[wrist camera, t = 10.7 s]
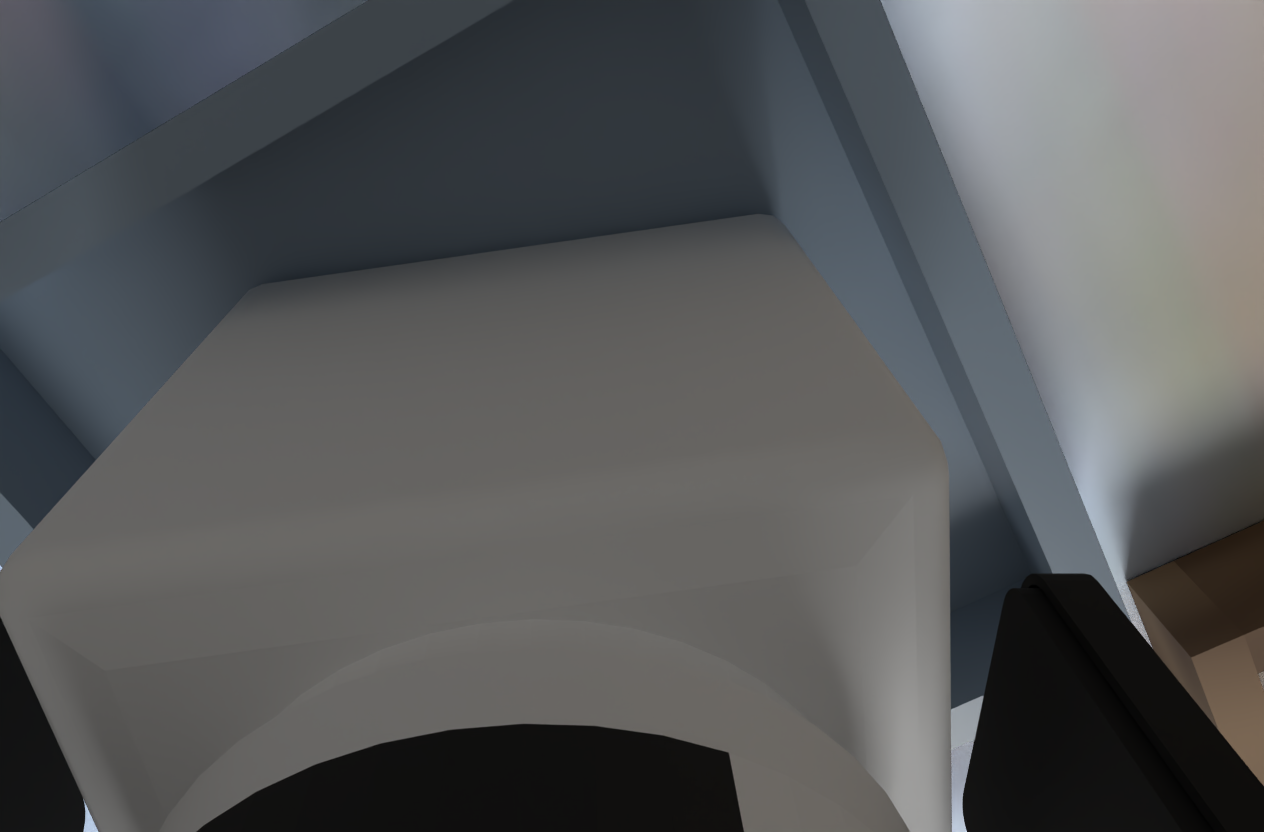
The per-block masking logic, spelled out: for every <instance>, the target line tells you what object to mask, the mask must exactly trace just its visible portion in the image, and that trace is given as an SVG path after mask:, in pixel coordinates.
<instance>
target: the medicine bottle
mask: <svg viewBox="0 0 1264 832" xmlns="http://www.w3.org/2000/svg"><path fill="white" fill-rule="evenodd" d="M0 617H1V619H2V621H3V624H4V626H5V628H6V630H7V632H8V634H9V637H10V639H11V641H12V643H13V645H14V648H15V650H16V652H17V654H18V656H19V659H20V661H21V663H22V665H23V667H24V670H25V672H26V674H27V676H28V678H29V680H30V683H31V685H32V687H33V689H34V691H35V694H36V696H37V698H38V700H39V702H40V705H41V707H42V709H43V711H44V713H45V715H46V718H47V720H48V722H49V724H50V726H51V729H52V731H53V733H54V735H55V737H56V740H57V742H58V744H59V746H60V748H61V751H62V753H63V755H64V757H65V759H66V761H67V764H68V766H69V768H70V770H71V772H72V775H73V777H74V779H75V781H76V783H77V786H78V788H79V790H80V792H81V794H82V797H83V799H84V801H85V803H86V805H87V807H88V810H89V812H90V814H91V816H92V818H93V821H94V823H95V825H96V827H97V829H98V832H952V803H951V663H950V523H949V469H948V462H947V459H946V456H945V453H944V449H943V446H942V443H941V441H940V439H939V438H938V437H937V435H936V434H935V432H934V431H933V430H932V428H931V427H930V426H929V424H928V423H927V421H926V420H925V419H924V417H923V416H922V414H921V413H920V412H919V410H918V409H917V408H916V406H915V405H914V403H913V402H912V401H911V399H910V398H909V396H908V395H907V394H906V392H905V391H904V390H903V388H902V387H901V385H900V384H899V383H898V381H897V380H896V378H895V377H894V376H893V374H892V373H891V372H890V370H889V369H888V367H887V366H886V365H885V363H884V362H883V360H882V359H881V358H880V356H879V355H878V354H877V352H876V351H875V349H874V348H873V347H872V345H871V344H870V342H869V341H868V340H867V338H866V337H865V336H864V334H863V333H862V331H861V330H860V329H859V327H858V326H857V324H856V323H855V322H854V320H853V319H852V318H851V316H850V315H849V313H848V312H847V311H846V309H845V308H844V306H843V305H842V304H841V302H840V301H839V300H838V298H837V297H836V295H835V294H834V293H833V291H832V290H831V288H830V287H829V286H828V284H827V283H826V282H825V280H824V279H823V277H822V276H821V275H820V273H819V272H818V270H817V269H816V268H815V266H814V265H813V263H812V262H811V261H810V259H809V258H808V257H807V255H806V254H805V252H804V251H803V250H802V248H801V247H800V245H799V244H798V243H797V241H796V240H795V239H794V237H793V236H792V234H791V233H790V232H789V230H788V229H787V227H786V226H785V225H784V224H783V223H782V222H781V221H779V220H778V219H777V218H775V217H774V216H773V215H764V214H753V215H746V216H739V217H732V218H725V219H718V220H710V221H703V222H696V223H689V224H682V225H675V226H668V227H661V228H654V229H647V230H640V231H633V232H626V233H619V234H612V235H605V236H598V237H591V238H584V239H576V240H569V241H562V242H555V243H548V244H541V245H534V246H527V247H520V248H513V249H506V250H499V251H492V252H485V253H478V254H471V255H464V256H457V257H450V258H442V259H435V260H428V261H421V262H414V263H407V264H400V265H393V266H386V267H379V268H372V269H365V270H358V271H351V272H344V273H337V274H330V275H323V276H316V277H308V278H301V279H294V280H287V281H280V282H273V283H266V284H261V285H259V286H257V287H254V288H252V289H250V290H248V292H247V293H246V294H245V295H244V296H243V297H242V298H241V299H240V300H239V302H238V303H237V304H236V305H235V306H234V307H233V308H232V309H231V310H230V312H229V313H228V314H227V315H226V316H225V317H224V318H223V319H222V320H221V322H220V323H219V324H218V325H217V326H216V327H215V328H214V329H213V330H212V332H211V333H210V334H209V335H208V336H207V337H206V338H205V339H204V341H203V342H202V343H201V344H200V345H199V346H198V347H197V348H196V349H195V351H194V352H193V353H192V354H191V355H190V356H189V357H188V358H187V359H186V361H185V362H184V363H183V364H182V365H181V366H180V367H179V368H178V369H177V371H176V372H175V373H174V374H173V375H172V376H171V377H170V378H169V379H168V381H167V382H166V383H165V384H164V385H163V386H162V387H161V388H160V389H159V391H158V392H157V393H156V394H155V395H154V396H153V397H152V398H151V399H150V401H149V402H148V403H147V404H146V405H145V406H144V407H143V408H142V409H141V411H140V412H139V413H138V414H137V415H136V416H135V417H134V418H133V419H132V421H131V422H130V423H129V424H128V425H127V426H126V427H125V428H124V430H123V431H122V432H121V433H120V434H119V435H118V436H117V437H116V438H115V440H114V441H113V442H112V443H111V444H110V445H109V446H108V447H107V448H106V450H105V451H104V452H103V453H102V454H101V455H100V456H99V457H98V458H97V460H96V461H95V462H94V463H93V464H92V465H91V466H90V467H89V468H88V470H87V471H86V472H85V473H84V474H83V475H82V476H81V477H80V478H79V480H78V481H77V482H76V483H75V484H74V485H73V486H72V487H71V488H70V490H69V491H68V492H67V493H66V494H65V495H64V496H63V497H62V498H61V500H60V501H59V502H58V503H57V504H56V505H55V506H54V507H53V508H52V510H51V511H50V512H49V513H48V514H47V515H46V516H45V517H44V518H43V520H42V521H41V522H40V523H39V524H38V525H37V526H36V527H35V529H34V530H33V531H32V532H31V533H30V534H29V535H28V536H27V537H26V539H25V540H24V541H23V542H22V543H21V544H20V545H19V546H18V547H17V549H16V550H15V551H14V552H13V553H12V554H11V555H10V557H9V559H8V560H7V562H6V563H5V565H4V567H3V568H2V570H1V571H0Z"/></svg>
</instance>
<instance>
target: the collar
mask: <svg viewBox="0 0 1264 832" xmlns="http://www.w3.org/2000/svg"><path fill="white" fill-rule="evenodd" d="M1127 584H1128V587H1129V589H1130V592H1131V594H1132V597H1133V599H1134V602H1135V604H1136V607H1137V609H1138V612H1139V614H1140V617H1141V619H1142V622H1143V624H1144V627H1145V629H1146V632H1147V634H1148V637H1149V639H1150V642H1151V644H1152V647H1153V649H1154V651H1155V652H1156V654H1157V655H1158V656H1159V657H1160V659H1161V660H1162V661H1163V662H1164V663H1165V665H1166V666H1167V667H1168V668H1169V670H1170V671H1171V672H1172V673H1173V675H1174V676H1175V677H1176V678H1177V680H1178V681H1179V682H1180V683H1181V684H1182V686H1183V687H1184V688H1185V689H1186V691H1187V692H1188V693H1189V694H1190V696H1191V697H1192V698H1193V699H1194V701H1195V702H1196V703H1197V704H1198V705H1199V707H1200V708H1201V709H1202V710H1203V712H1204V713H1205V714H1206V715H1207V717H1208V718H1209V719H1210V720H1211V722H1212V723H1213V724H1214V725H1215V726H1216V728H1217V729H1218V730H1219V731H1220V733H1221V734H1222V735H1223V736H1224V738H1225V739H1226V740H1227V741H1228V743H1229V744H1230V745H1231V746H1232V748H1233V749H1234V750H1235V751H1236V752H1237V754H1238V755H1239V756H1240V757H1241V759H1242V760H1243V761H1244V762H1245V764H1246V765H1247V766H1248V767H1249V769H1250V770H1251V771H1252V772H1253V773H1254V775H1255V776H1256V777H1257V778H1258V780H1259V781H1260V782H1261V783H1262V785H1263V786H1264V690H1263V687H1262V684H1261V682H1260V679H1259V676H1258V673H1260V672H1262V671H1264V521H1262V522H1260V523H1258V524H1255V525H1253V526H1251V527H1249V528H1246V529H1244V530H1242V531H1240V532H1237V533H1235V534H1233V535H1231V536H1228V537H1226V538H1224V539H1222V540H1219V541H1217V542H1215V543H1213V544H1210V545H1208V546H1206V547H1204V548H1201V549H1199V550H1197V551H1195V552H1193V553H1190V554H1188V555H1186V556H1184V557H1181V558H1179V559H1177V560H1175V561H1172V562H1170V563H1168V564H1166V565H1163V566H1161V567H1159V568H1157V569H1154V570H1152V571H1150V572H1148V573H1145V574H1143V575H1141V576H1139V577H1136V578H1134V579H1132V580H1130V581H1127Z"/></svg>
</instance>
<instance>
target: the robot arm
mask: <svg viewBox="0 0 1264 832" xmlns="http://www.w3.org/2000/svg"><path fill="white" fill-rule="evenodd" d="M963 816H964V822H965V826H966V830H967V832H1264V786H1263V785H1262V783H1261V782H1260V781H1259V780H1258V778H1257V777H1256V776H1255V775H1254V773H1253V772H1252V771H1251V770H1250V769H1249V767H1248V766H1247V765H1246V764H1245V762H1244V761H1243V760H1242V759H1241V757H1240V756H1239V755H1238V754H1237V752H1236V751H1235V750H1234V749H1233V748H1232V746H1231V745H1230V744H1229V743H1228V741H1227V740H1226V739H1225V738H1224V736H1223V735H1222V734H1221V733H1220V731H1219V730H1218V729H1217V728H1216V726H1215V725H1214V724H1213V723H1212V722H1211V720H1210V719H1209V718H1208V717H1207V715H1206V714H1205V713H1204V712H1203V710H1202V709H1201V708H1200V707H1199V705H1198V704H1197V703H1196V702H1195V701H1194V699H1193V698H1192V697H1191V696H1190V694H1189V693H1188V692H1187V691H1186V689H1185V688H1184V687H1183V686H1182V684H1181V683H1180V682H1179V681H1178V680H1177V678H1176V677H1175V676H1174V675H1173V673H1172V672H1171V671H1170V670H1169V668H1168V667H1167V666H1166V665H1165V663H1164V662H1163V661H1162V660H1161V659H1160V657H1159V656H1158V655H1157V654H1156V652H1155V651H1154V650H1153V649H1152V647H1151V646H1150V645H1149V644H1148V642H1147V641H1146V640H1145V639H1144V638H1143V636H1142V635H1141V634H1140V633H1139V631H1138V630H1137V629H1136V628H1135V626H1134V625H1133V624H1132V623H1131V621H1130V620H1129V619H1128V618H1127V616H1126V615H1125V614H1124V613H1123V612H1122V610H1121V609H1120V608H1119V607H1118V605H1117V604H1116V603H1115V602H1114V600H1113V599H1112V598H1111V597H1110V595H1109V594H1108V593H1107V592H1106V591H1105V589H1104V588H1103V587H1102V586H1101V584H1100V583H1099V582H1098V581H1097V580H1096V579H1095V578H1094V577H1093V576H1092V575H1089V574H1085V573H1032V574H1030V575H1028V576H1027V577H1026V578H1025V580H1024V581H1023V583H1022V586H1021V588H1012V589H1010V590H1009V591H1008V592H1007V594H1006V595H1005V598H1004V602H1003V606H1002V611H1001V616H1000V620H999V625H998V630H997V635H996V640H995V644H994V649H993V654H992V659H991V663H990V668H989V673H988V678H987V683H986V687H985V692H984V697H983V702H982V707H981V711H980V716H979V721H978V726H977V730H976V735H975V740H974V745H973V750H972V754H971V759H970V764H969V769H968V773H967V778H966V783H965V788H964V793H963ZM84 824H85V805H84V800H83V797H82V794H81V792H80V790H79V788H78V786H77V783H76V781H75V779H74V777H73V775H72V772H71V770H70V768H69V766H68V764H67V761H66V759H65V757H64V755H63V753H62V751H61V748H60V746H59V744H58V742H57V740H56V737H55V735H54V733H53V731H52V729H51V726H50V724H49V722H48V720H47V718H46V715H45V713H44V711H43V709H42V707H41V705H40V702H39V700H38V698H37V696H36V694H35V691H34V689H33V687H32V685H31V683H30V680H29V678H28V676H27V674H26V672H25V670H24V667H23V665H22V663H21V661H20V659H19V656H18V654H17V652H16V650H15V648H14V645H13V643H12V641H11V639H10V637H9V634H8V632H7V630H6V628H5V626H4V624H3V621H2V619H1V617H0V832H83V830H84Z"/></svg>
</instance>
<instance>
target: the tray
mask: <svg viewBox="0 0 1264 832" xmlns="http://www.w3.org/2000/svg"><path fill="white" fill-rule="evenodd" d="M753 214H764V215H773V216H774V217H775V218H777V219H778V220H779V221H781V222H782V223H783V224H784V225H785V226H786V227H787V229H788V230H789V232H790V233H791V234H792V236H793V237H794V239H795V240H796V241H797V243H798V244H799V245H800V247H801V248H802V250H803V251H804V252H805V254H806V255H807V257H808V258H809V259H810V261H811V262H812V263H813V265H814V266H815V268H816V269H817V270H818V272H819V273H820V275H821V276H822V277H823V279H824V280H825V282H826V283H827V284H828V286H829V287H830V288H831V290H832V291H833V293H834V294H835V295H836V297H837V298H838V300H839V301H840V302H841V304H842V305H843V306H844V308H845V309H846V311H847V312H848V313H849V315H850V316H851V318H852V319H853V320H854V322H855V323H856V324H857V326H858V327H859V329H860V330H861V331H862V333H863V334H864V336H865V337H866V338H867V340H868V341H869V342H870V344H871V345H872V347H873V348H874V349H875V351H876V352H877V354H878V355H879V356H880V358H881V359H882V360H883V362H884V363H885V365H886V366H887V367H888V369H889V370H890V372H891V373H892V374H893V376H894V377H895V378H896V380H897V381H898V383H899V384H900V385H901V387H902V388H903V390H904V391H905V392H906V394H907V395H908V396H909V398H910V399H911V401H912V402H913V403H914V405H915V406H916V408H917V409H918V410H919V412H920V413H921V414H922V416H923V417H924V419H925V420H926V421H927V423H928V424H929V426H930V427H931V428H932V430H933V431H934V432H935V434H936V435H937V437H938V438H939V439H940V441H941V443H942V446H943V449H944V453H945V456H946V459H947V462H948V469H949V523H950V663H951V750H953V749H955V748H957V747H960V746H962V745H964V744H967V743H969V742H971V741H974V740H975V735H976V730H977V726H978V721H979V716H980V711H981V707H982V702H983V697H984V692H985V687H986V683H987V678H988V673H989V668H990V663H991V659H992V654H993V649H994V644H995V640H996V635H997V630H998V625H999V620H1000V616H1001V611H1002V606H1003V602H1004V598H1005V595H1006V594H1007V592H1008V591H1009V590H1010V589H1012V588H1021V586H1022V583H1023V581H1024V580H1025V578H1026V577H1027V576H1028V575H1030V574H1032V573H1085V574H1089V575H1092V576H1093V577H1094V578H1095V579H1096V580H1097V581H1098V582H1099V583H1100V584H1101V586H1102V587H1103V588H1104V589H1105V591H1106V592H1107V593H1108V594H1109V595H1110V597H1111V598H1112V599H1113V600H1114V602H1115V603H1116V604H1117V605H1118V607H1119V608H1120V609H1121V610H1122V612H1123V613H1124V614H1125V615H1126V616H1127V618H1128V619H1129V620H1130V618H1129V615H1128V613H1127V610H1126V608H1125V605H1124V603H1123V601H1122V598H1121V596H1120V593H1119V591H1118V588H1117V586H1116V583H1115V581H1114V578H1113V576H1112V573H1111V571H1110V568H1109V566H1108V563H1107V561H1106V558H1105V556H1104V554H1103V551H1102V549H1101V546H1100V544H1099V541H1098V539H1097V536H1096V534H1095V531H1094V529H1093V526H1092V524H1091V521H1090V519H1089V516H1088V514H1087V511H1086V509H1085V506H1084V504H1083V502H1082V499H1081V497H1080V494H1079V492H1078V489H1077V487H1076V484H1075V482H1074V479H1073V477H1072V474H1071V472H1070V469H1069V467H1068V464H1067V462H1066V459H1065V457H1064V455H1063V452H1062V450H1061V447H1060V445H1059V442H1058V440H1057V437H1056V435H1055V432H1054V430H1053V427H1052V425H1051V422H1050V420H1049V417H1048V415H1047V412H1046V410H1045V407H1044V405H1043V403H1042V400H1041V398H1040V395H1039V393H1038V390H1037V388H1036V385H1035V383H1034V380H1033V378H1032V375H1031V373H1030V370H1029V368H1028V365H1027V363H1026V360H1025V358H1024V355H1023V353H1022V351H1021V348H1020V346H1019V343H1018V341H1017V338H1016V336H1015V333H1014V331H1013V328H1012V326H1011V323H1010V321H1009V318H1008V316H1007V313H1006V311H1005V308H1004V306H1003V304H1002V301H1001V299H1000V296H999V294H998V291H997V289H996V286H995V284H994V281H993V279H992V276H991V274H990V271H989V269H988V266H987V264H986V261H985V259H984V256H983V254H982V252H981V249H980V247H979V244H978V242H977V239H976V237H975V234H974V232H973V229H972V227H971V224H970V222H969V219H968V217H967V214H966V212H965V209H964V207H963V205H962V202H961V200H960V197H959V195H958V192H957V190H956V187H955V185H954V182H953V180H952V177H951V175H950V172H949V170H948V167H947V165H946V162H945V160H944V157H943V155H942V153H941V150H940V148H939V145H938V143H937V140H936V138H935V135H934V133H933V130H932V128H931V125H930V123H929V120H928V118H927V115H926V113H925V110H924V108H923V105H922V103H921V101H920V98H919V96H918V93H917V91H916V88H915V86H914V83H913V81H912V78H911V76H910V73H909V71H908V68H907V66H906V63H905V61H904V58H903V56H902V54H901V51H900V49H899V46H898V44H897V41H896V39H895V36H894V34H893V31H892V29H891V26H890V24H889V21H888V19H887V16H886V14H885V11H884V9H883V6H882V4H881V2H880V0H368V1H367V2H365V3H363V4H362V5H360V6H358V7H357V8H355V9H353V10H352V11H350V12H348V13H347V14H345V15H343V16H342V17H340V18H338V19H337V20H335V21H333V22H332V23H330V24H328V25H327V26H325V27H323V28H322V29H320V30H318V31H317V32H315V33H313V34H312V35H310V36H308V37H307V38H305V39H303V40H302V41H300V42H299V43H297V44H295V45H294V46H292V47H290V48H289V49H287V50H285V51H284V52H282V53H280V54H279V55H277V56H275V57H274V58H272V59H270V60H269V61H267V62H265V63H264V64H262V65H260V66H259V67H257V68H255V69H254V70H252V71H250V72H249V73H247V74H245V75H244V76H242V77H240V78H239V79H237V80H235V81H234V82H232V83H230V84H229V85H227V86H225V87H224V88H222V89H220V90H219V91H217V92H215V93H214V94H212V95H210V96H209V97H207V98H206V99H204V100H202V101H201V102H199V103H197V104H196V105H194V106H192V107H191V108H189V109H187V110H186V111H184V112H182V113H181V114H179V115H177V116H176V117H174V118H172V119H171V120H169V121H167V122H166V123H164V124H162V125H161V126H159V127H157V128H156V129H154V130H152V131H151V132H149V133H147V134H146V135H144V136H142V137H141V138H139V139H137V140H136V141H134V142H132V143H131V144H129V145H127V146H126V147H124V148H122V149H121V150H119V151H117V152H116V153H114V154H112V155H111V156H109V157H108V158H106V159H104V160H103V161H101V162H99V163H98V164H96V165H94V166H93V167H91V168H89V169H88V170H86V171H84V172H83V173H81V174H79V175H78V176H76V177H74V178H73V179H71V180H69V181H68V182H66V183H64V184H63V185H61V186H59V187H58V188H56V189H54V190H53V191H51V192H49V193H48V194H46V195H44V196H43V197H41V198H39V199H38V200H36V201H34V202H33V203H31V204H29V205H28V206H26V207H24V208H23V209H21V210H19V211H18V212H16V213H15V214H13V215H11V216H10V217H8V218H6V219H5V220H3V221H1V222H0V565H1V567H2V568H3V567H4V565H5V563H6V562H7V560H8V559H9V557H10V555H11V554H12V553H13V552H14V551H15V550H16V549H17V547H18V546H19V545H20V544H21V543H22V542H23V541H24V540H25V539H26V537H27V536H28V535H29V534H30V533H31V532H32V531H33V530H34V529H35V527H36V526H37V525H38V524H39V523H40V522H41V521H42V520H43V518H44V517H45V516H46V515H47V514H48V513H49V512H50V511H51V510H52V508H53V507H54V506H55V505H56V504H57V503H58V502H59V501H60V500H61V498H62V497H63V496H64V495H65V494H66V493H67V492H68V491H69V490H70V488H71V487H72V486H73V485H74V484H75V483H76V482H77V481H78V480H79V478H80V477H81V476H82V475H83V474H84V473H85V472H86V471H87V470H88V468H89V467H90V466H91V465H92V464H93V463H94V462H95V461H96V460H97V458H98V457H99V456H100V455H101V454H102V453H103V452H104V451H105V450H106V448H107V447H108V446H109V445H110V444H111V443H112V442H113V441H114V440H115V438H116V437H117V436H118V435H119V434H120V433H121V432H122V431H123V430H124V428H125V427H126V426H127V425H128V424H129V423H130V422H131V421H132V419H133V418H134V417H135V416H136V415H137V414H138V413H139V412H140V411H141V409H142V408H143V407H144V406H145V405H146V404H147V403H148V402H149V401H150V399H151V398H152V397H153V396H154V395H155V394H156V393H157V392H158V391H159V389H160V388H161V387H162V386H163V385H164V384H165V383H166V382H167V381H168V379H169V378H170V377H171V376H172V375H173V374H174V373H175V372H176V371H177V369H178V368H179V367H180V366H181V365H182V364H183V363H184V362H185V361H186V359H187V358H188V357H189V356H190V355H191V354H192V353H193V352H194V351H195V349H196V348H197V347H198V346H199V345H200V344H201V343H202V342H203V341H204V339H205V338H206V337H207V336H208V335H209V334H210V333H211V332H212V330H213V329H214V328H215V327H216V326H217V325H218V324H219V323H220V322H221V320H222V319H223V318H224V317H225V316H226V315H227V314H228V313H229V312H230V310H231V309H232V308H233V307H234V306H235V305H236V304H237V303H238V302H239V300H240V299H241V298H242V297H243V296H244V295H245V294H246V293H247V292H248V290H250V289H252V288H254V287H257V286H259V285H261V284H266V283H273V282H280V281H287V280H294V279H301V278H308V277H316V276H323V275H330V274H337V273H344V272H351V271H358V270H365V269H372V268H379V267H386V266H393V265H400V264H407V263H414V262H421V261H428V260H435V259H442V258H450V257H457V256H464V255H471V254H478V253H485V252H492V251H499V250H506V249H513V248H520V247H527V246H534V245H541V244H548V243H555V242H562V241H569V240H576V239H584V238H591V237H598V236H605V235H612V234H619V233H626V232H633V231H640V230H647V229H654V228H661V227H668V226H675V225H682V224H689V223H696V222H703V221H710V220H718V219H725V218H732V217H739V216H746V215H753ZM1130 621H1131V620H1130Z"/></svg>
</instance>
